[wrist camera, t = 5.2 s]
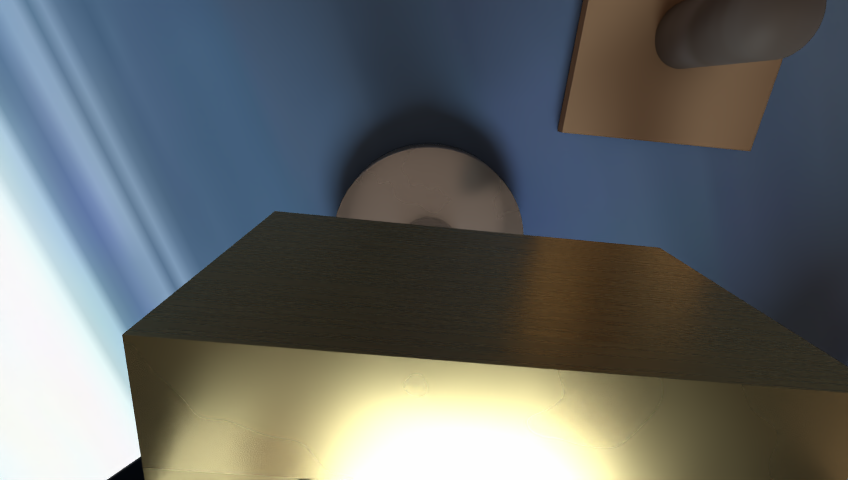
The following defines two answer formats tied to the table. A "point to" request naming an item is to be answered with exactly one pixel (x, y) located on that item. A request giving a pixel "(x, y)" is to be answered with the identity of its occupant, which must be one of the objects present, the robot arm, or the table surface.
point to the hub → (433, 191)
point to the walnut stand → (681, 67)
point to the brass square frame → (472, 364)
